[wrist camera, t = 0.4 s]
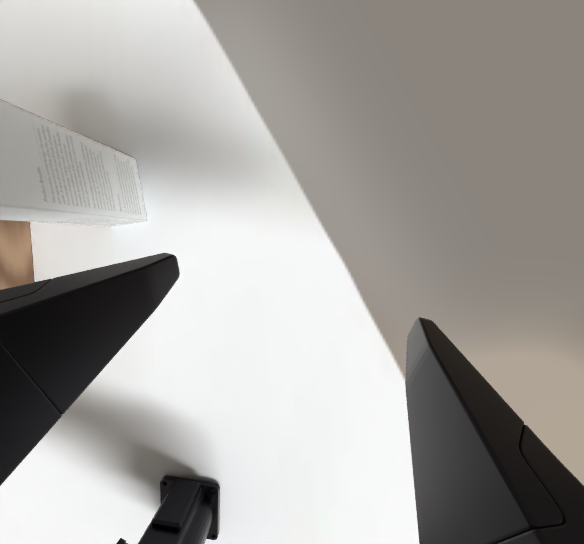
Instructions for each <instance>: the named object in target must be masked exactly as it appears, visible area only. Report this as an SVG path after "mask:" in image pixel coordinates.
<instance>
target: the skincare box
mask: <svg viewBox="0 0 584 544" xmlns="http://www.w3.org/2000/svg"><path fill="white" fill-rule="evenodd" d="M0 220H11V221H29V222H46V223H62V224H79V225H96V226H116V225H123V224H130V223H137V222H145V221H147V216H146V211H145V206H144V201H143V196H142V190H141V185H140V180H139V174H138V169H137V164H136V159H135V158H133V157H131V156H128V155H126V154H124V153H122V152H119V151H117V150H115V149H112V148H110V147H108V146H106V145H103V144H101V143H99V142H96V141H94V140H92V139H90V138H87V137H85V136H83V135H81V134H78V133H76V132H74V131H72V130H69V129H67V128H65V127H62V126H60V125H58V124H55V123H53V122H51V121H49V120H46V119H44V118H42V117H39V116H37V115H35V114H33V113H30V112H28V111H26V110H23V109H21V108H19V107H17V106H14V105H12V104H10V103H8V102H5V101H3V100H0Z"/></svg>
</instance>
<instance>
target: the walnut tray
mask: <svg viewBox="0 0 584 544" xmlns="http://www.w3.org/2000/svg"><path fill="white" fill-rule="evenodd" d="M30 283H34V273H33V261H32V248H31V236H30V223H29V221H11V220H0V290H1V289H6V288H11V287H16V286H20V285H25V284H30Z"/></svg>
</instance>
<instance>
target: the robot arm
mask: <svg viewBox="0 0 584 544" xmlns="http://www.w3.org/2000/svg"><path fill="white" fill-rule="evenodd" d="M179 274H180V272H179V267H178V262H177V258H176V256H175V255H172V254H168V253H161V254H157V255H153V256H148V257H144V258H140V259H135V260H131V261H126V262H122V263H118V264H113V265H109V266H105V267H100V268H96V269H91V270H87V271H83V272H78V273H74V274H70V275H65V276H61V277H56V278H53V279H47V280H43V281H39V282H34V283H30V284H25V285H20V286H16V287H11V288H6V289H1V290H0V486H1V484H2V483H3V482H4V481H5V480H6V479H7V478H8V477H9V475H10V474H11V473H12V472H13V471H14V470H15V469H16V467H17V466H18V465H19V464H20V463H21V462H22V461H23V459H24V458H25V457H26V456H27V455H28V454H29V453H30V452H31V450H32V449H33V448H34V447H35V446H36V445H37V444H38V442H39V441H40V440H41V439H42V438H43V437H44V436H45V435H46V433H47V432H48V431H49V430H50V429H51V428H52V427H53V425H54V424H55V423H56V422H57V421H58V420H59V419H60V418H61V416H62V414H64V413H65V412H66V410H67V409H68V408H69V407H70V406H71V405H72V404H73V403H74V401H75V400H76V399H77V398H78V397H79V396H80V395H81V393H82V392H83V391H84V390H85V389H86V388H87V387H88V386H89V384H90V383H91V382H92V381H93V380H94V379H95V378H96V376H97V375H98V374H99V373H100V372H101V371H102V370H103V369H104V367H105V366H106V365H107V364H108V363H109V362H110V361H111V359H112V358H113V357H114V356H115V355H116V354H117V353H118V352H119V350H120V349H121V348H122V347H123V346H124V345H125V344H126V342H127V341H128V340H129V339H130V338H131V337H132V336H133V335H134V333H135V332H136V331H137V330H138V329H139V328H140V327H141V326H142V324H143V323H144V322H145V321H146V320H147V319H148V318H149V316H150V315H151V314H152V313H153V312H154V311H155V309H156V308H157V307H158V306H159V304H160V303H161V302H162V300H163V299H164V297H165V296H166V295H167V293H168V292H169V291H170V289H171V288H172V286H173V285H174V284H175V282H176V281H177V279H178V278H179ZM405 384H406V398H407V409H408V420H409V431H410V443H411V454H412V465H413V476H414V487H415V499H416V510H417V521H418V532H419V543H420V544H584V485H582V483H580V481H579V480H578V479H577V478H576V477H574V475H573V474H572V473H571V472H570V471H569V470H568V469H567V468H566V467H565V466H564V465H563V464H562V463H561V462H560V461H559V460H558V459H557V458H556V456H555V455H554V454H553V453H552V452H551V451H550V450H549V449H548V448H547V447H546V446H545V445H544V444H543V443H542V441H541V440H540V439H539V438H538V437H537V436H536V435H535V434H534V433H533V431H532V430H531V429H530V428H529V427H528V426H526V425H524V422H523V421H522V419H521V418H520V417H519V416H518V415H517V414H516V413H515V412H514V411H513V409H512V408H511V407H510V406H509V405H508V404H507V403H506V402H505V401H504V400H503V399H502V398H501V396H500V395H499V394H498V393H497V392H496V391H495V390H494V389H493V388H492V386H491V385H490V384H489V383H488V382H487V381H486V380H485V379H484V377H483V376H482V375H481V374H480V373H479V372H478V371H477V370H476V369H475V367H474V366H473V365H472V364H471V363H470V362H469V361H468V360H467V359H466V358H465V357H464V355H463V354H462V353H461V352H460V351H459V350H458V349H457V348H456V347H455V345H454V344H453V343H452V342H451V341H450V340H449V339H448V338H447V337H446V335H445V334H444V333H443V332H442V331H441V330H440V329H439V328H438V327H437V325H436V324H435V323H434V322H433V321H431V320H428V319H424V318H417V319H416V321H415V323H414V325H413V327H412V328H411V331H410V332H409V334H408V337H407V351H406V380H405ZM160 491H161V506H160V507H159V509H158V511H157V512H156V514H155V516H154V517H153V519H152V521H151V523H150V524H149V526H148V528H147V529H146V531H145V533H144V534H143V536H142V538H141V539H140V541H139V543H138V544H204V543H205V540H206V539H211V540H216V539H217V537H218V534H219V506H220V487H219V485H218V484H216V483H210V482H203V481H197V480H191V479H184V478H178V477H171V476H164V477H163V478H162V480H161V482H160ZM117 544H128V543H126V541H125V540H124V539H122V538H120V540H119V541H118V542H117Z"/></svg>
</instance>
